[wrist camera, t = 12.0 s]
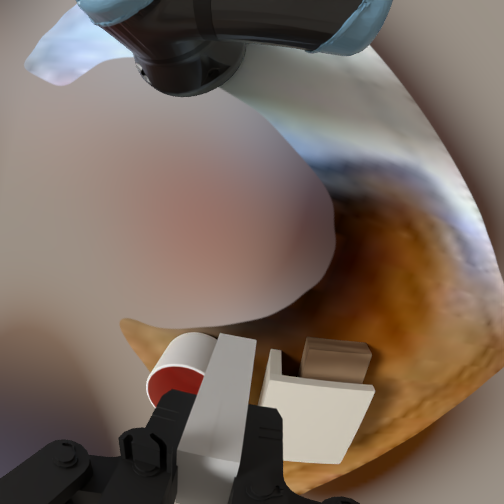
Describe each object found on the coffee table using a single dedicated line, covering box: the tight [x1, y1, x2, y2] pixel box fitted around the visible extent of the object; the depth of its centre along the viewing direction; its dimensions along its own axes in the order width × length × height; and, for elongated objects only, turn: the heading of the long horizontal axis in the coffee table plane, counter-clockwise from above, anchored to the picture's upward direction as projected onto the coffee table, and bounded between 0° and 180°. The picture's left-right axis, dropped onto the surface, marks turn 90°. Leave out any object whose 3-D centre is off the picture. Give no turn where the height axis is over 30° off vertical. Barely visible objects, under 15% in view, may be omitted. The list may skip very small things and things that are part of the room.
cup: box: [146, 332, 217, 408], centre depth 41 cm, size 10×10×10 cm
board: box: [297, 337, 372, 384], centre depth 44 cm, size 15×9×4 cm, turn 172°
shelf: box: [258, 349, 375, 464], centre depth 42 cm, size 15×14×8 cm
